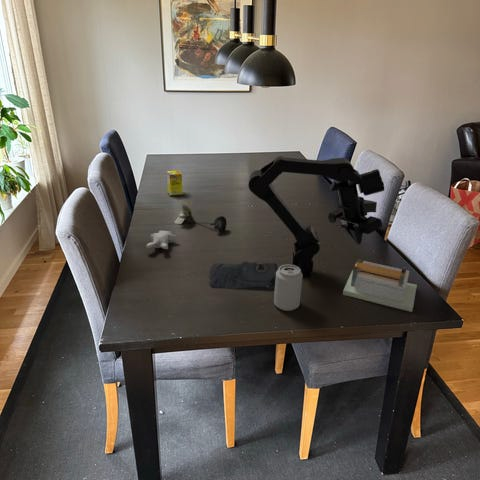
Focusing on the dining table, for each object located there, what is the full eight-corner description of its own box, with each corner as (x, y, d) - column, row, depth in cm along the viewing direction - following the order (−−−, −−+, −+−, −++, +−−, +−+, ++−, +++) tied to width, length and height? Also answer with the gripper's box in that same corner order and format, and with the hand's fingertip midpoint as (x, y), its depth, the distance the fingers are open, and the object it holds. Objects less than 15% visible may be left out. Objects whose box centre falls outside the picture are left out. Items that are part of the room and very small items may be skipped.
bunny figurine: (179, 228, 161) (169, 241, 147) (179, 241, 163) (170, 255, 149) (154, 227, 162) (142, 239, 148) (154, 239, 164) (143, 253, 149)
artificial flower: (216, 239, 166) (209, 218, 161) (174, 230, 179) (166, 210, 173) (229, 226, 172) (223, 205, 166) (187, 218, 184) (180, 199, 179)
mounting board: (342, 294, 131) (343, 290, 130) (351, 274, 142) (352, 270, 142) (412, 312, 123) (413, 307, 123) (415, 288, 135) (416, 284, 134)
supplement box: (182, 195, 205) (182, 173, 201) (170, 197, 203) (169, 174, 199) (179, 191, 210) (178, 170, 206) (167, 193, 208) (166, 171, 204)
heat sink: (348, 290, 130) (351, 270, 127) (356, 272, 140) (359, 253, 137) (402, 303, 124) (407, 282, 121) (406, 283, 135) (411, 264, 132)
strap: (353, 269, 132) (354, 265, 131) (356, 264, 135) (356, 260, 134) (403, 280, 126) (404, 277, 126) (404, 275, 129) (405, 272, 129)
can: (297, 298, 128) (300, 262, 123) (301, 312, 121) (305, 275, 116) (272, 297, 128) (274, 262, 123) (274, 312, 121) (277, 275, 116)
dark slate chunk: (211, 266, 145) (211, 253, 143) (276, 268, 145) (277, 255, 143) (207, 290, 131) (207, 276, 129) (279, 292, 131) (280, 279, 129)
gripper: (391, 193, 125) (399, 239, 131) (348, 184, 141) (357, 226, 147) (363, 209, 122) (372, 256, 128) (322, 198, 138) (332, 240, 144)
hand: (359, 243), depth 137 cm, fingers closed
